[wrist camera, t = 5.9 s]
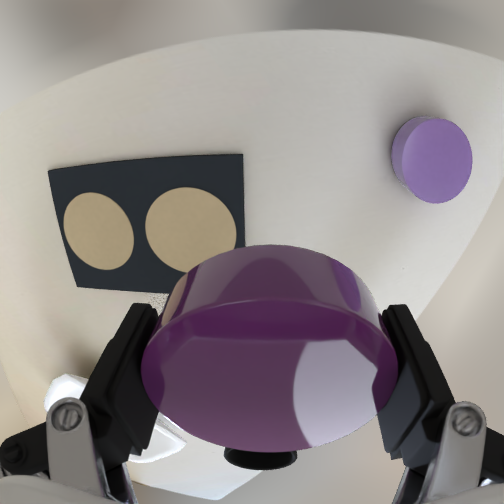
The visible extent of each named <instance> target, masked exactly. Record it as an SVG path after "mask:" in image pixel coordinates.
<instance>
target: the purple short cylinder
mask: <svg viewBox="0 0 504 504" xmlns="http://www.w3.org/2000/svg"><path fill="white" fill-rule="evenodd" d="M140 372H141V379H142V383H143V386H144V389H145V392H146V394H147V395H148V397H149V399H150V401H151V402H152V403H153V405H154V406H155V407H156V408H157V410H158V411H159V412H160V413H161V414H162V415H163V416H164V417H166V418H167V419H168V420H169V421H171V422H172V423H173V424H174V425H176V426H178V427H179V428H181V429H182V430H184V431H186V432H188V433H189V434H191V435H193V436H195V437H198V438H200V439H202V440H205V441H207V442H210V443H213V444H216V445H220V446H224V447H228V448H232V449H238V450H244V451H253V452H287V451H296V450H302V449H308V448H312V447H316V446H320V445H323V444H327V443H330V442H332V441H335V440H337V439H340V438H342V437H344V436H346V435H348V434H350V433H352V432H354V431H356V430H357V429H359V428H360V427H362V426H364V425H365V424H366V423H368V422H369V421H370V420H371V419H373V418H374V417H375V416H376V415H377V414H378V413H379V412H380V411H381V410H382V409H383V408H384V406H385V405H386V404H387V402H388V400H389V398H390V397H391V395H392V393H393V390H394V388H395V386H396V384H397V379H398V373H399V366H398V359H397V355H396V351H395V348H394V346H393V343H392V341H391V338H390V336H389V333H388V331H387V328H386V326H385V323H384V321H383V318H382V316H381V314H380V311H379V309H378V307H377V304H376V302H375V300H374V298H373V296H372V294H371V292H370V290H369V288H368V287H367V286H366V285H365V283H364V282H363V281H362V280H361V278H359V277H358V276H357V275H356V274H355V273H354V272H353V271H352V270H351V269H349V268H348V267H346V266H345V265H343V264H342V263H340V262H339V261H337V260H335V259H333V258H330V257H328V256H326V255H324V254H321V253H318V252H315V251H312V250H309V249H305V248H300V247H294V246H288V245H272V244H271V245H254V246H248V247H242V248H237V249H233V250H230V251H227V252H224V253H220V254H218V255H216V256H214V257H211V258H209V259H207V260H205V261H203V262H202V263H200V264H198V265H197V266H195V267H194V268H192V269H191V270H190V271H189V272H188V273H186V274H185V275H184V276H183V277H182V278H181V279H180V280H179V281H178V282H177V284H176V285H175V286H174V287H173V289H172V291H171V292H170V294H169V296H168V298H167V300H166V302H165V304H164V306H163V308H162V311H161V313H160V315H159V317H158V319H157V322H156V324H155V326H154V328H153V331H152V333H151V335H150V338H149V340H148V342H147V344H146V347H145V349H144V352H143V355H142V359H141V368H140Z"/></svg>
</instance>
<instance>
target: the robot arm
mask: <svg viewBox="0 0 504 504" xmlns="http://www.w3.org/2000/svg"><path fill="white" fill-rule="evenodd" d="M382 318H383V321H384V323H385V326H386V328H387V331H388V333H389V336H390V338H391V341H392V343H393V346H394V348H395V351H396V355H397V359H398V366H399V373H398V379H397V384H396V386H395V388H394V390H393V393H392V395H391V397H390V398H389V400H388V402H387V404H386V405H385V406H384V408H383V409H382V410H381V411H380V412H379V413H378V414H377V416H378V420H379V425H380V429H381V434H382V439H383V443H384V448H385V451H386V452H387V453H390V455H391V460H393V459H398V458H403V463H404V465H405V466H406V468H405V470H404V473H403V476H402V479H401V482H400V484H399V487H398V489H397V492H396V495H395V497H394V500H393V502H392V504H504V435H502V434H499V433H498V432H496V431H494V430H492V429H490V428H488V427H486V425H487V424H486V417H485V414H484V412H483V411H482V410H481V408H480V407H478V406H477V405H476V404H473V403H471V402H467V401H462V402H457V403H456V402H455V400H454V397H453V395H452V393H451V390H450V388H449V386H448V383H447V381H446V379H445V377H444V375H443V373H442V370H441V368H440V366H439V364H438V361H437V360H436V357H435V355H434V353H433V351H432V349H431V347H430V345H429V344H428V342H426V341H425V340H424V338H423V336H422V334H421V332H420V330H419V328H418V326H417V324H416V322H415V320H414V318H413V316H412V314H411V312H410V310H409V308H408V307H407V305H405V304H400V305H389V307H388V309H387V310H384V311H383V313H382ZM157 319H158V314H157V310H156V309H155V308H152V306H151V305H150V304H144V303H133V304H132V306H131V307H130V309H129V311H128V312H127V314H126V316H125V318H124V320H123V321H122V323H121V325H120V327H119V328H118V330H117V332H116V334H115V336H114V338H113V339H111V340H110V341H109V342H108V344H107V346H106V348H105V350H104V351H103V353H102V355H101V357H100V359H99V361H98V363H97V365H96V366H95V368H94V370H93V372H92V374H91V376H90V378H89V380H88V382H87V384H86V386H85V388H84V390H83V392H82V394H81V396H80V398H79V399H78V398H74V397H65V398H62V399H59V400H58V401H56V402H55V403H53V405H52V406H51V407H50V408H49V410H48V412H47V417H46V422H44V423H42V424H39V425H37V426H35V427H32V428H30V429H28V430H25V431H23V432H20V433H18V434H16V435H13V436H11V437H9V438H7V439H6V440H5V441H4V442H3V443H2V445H1V447H0V504H138V502H137V499H136V496H135V493H134V489H133V486H132V483H131V479H130V476H129V473H128V469H127V465H126V461H128V458H129V455H130V454H132V455H137V456H141V454H142V451H143V449H144V450H146V449H147V448H148V446H149V443H150V439H151V436H152V432H153V429H154V425H155V422H156V419H157V415H158V412H159V411H158V410H157V408H156V407H155V406H154V405H153V403H152V402H151V401H150V399H149V397H148V395H147V394H146V392H145V389H144V386H143V383H142V379H141V372H140V368H141V359H142V355H143V352H144V349H145V347H146V344H147V342H148V340H149V338H150V335H151V333H152V331H153V328H154V326H155V324H156V322H157Z"/></svg>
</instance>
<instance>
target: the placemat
mask: <svg viewBox="0 0 504 504" xmlns="http://www.w3.org/2000/svg"><path fill="white" fill-rule="evenodd" d="M48 176H49V181H50V187H51V192H52V197H53V201H54V206H55V210H56V215H57V219H58V223H59V227H60V231H61V235H62V239H63V242H64V246H65V249H66V253H67V256H68V260H69V263H70V266H71V269H72V273H73V276H74V279H75V282H76V285H77V287H83V288H95V289H107V290H120V291H135V292H150V293H167V294H170V292H171V291H172V289H173V287H174V286H175V285H176V284H177V282H178V281H179V280H180V279H181V278H182V277H183V276H184V275H185V274H186V273H188V272H189V271H190V270H191V269H192V268H194V267H195V266H197V265H198V264H200V263H202V262H203V261H205V260H207V259H209V258H211V257H214V256H216V255H218V254H220V253H224V252H227V251H230V250H233V249H237V248H242V247H245V229H244V183H243V154H221V155H192V156H173V157H158V158H145V159H133V160H123V161H113V162H104V163H96V164H88V165H81V166H74V167H67V168H60V169H54V170H49V171H48Z"/></svg>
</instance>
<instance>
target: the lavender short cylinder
mask: <svg viewBox="0 0 504 504" xmlns="http://www.w3.org/2000/svg"><path fill="white" fill-rule="evenodd" d="M391 158H392V166H393V169H394V172H395V174H396V177H397V178H398V180H399V181H400V183H401V184H402V185H403V186H404V187H405V188H406V189H408V190H409V191H410V192H412V193H413V194H414V195H415V196H417V197H418V198H419V199H421V200H423V201H425V202H428V203H443V202H447V201H449V200H451V199H453V198H454V197H456V196H457V195H458V194H459V193H460V192H461V191H462V190H463V188H464V187H465V185H466V184H467V182H468V179H469V177H470V174H471V169H472V151H471V147H470V144H469V141H468V139H467V137H466V135H465V134H464V132H463V131H462V130H461V129H460V128H459V127H458V126H457V125H456V124H454V123H453V122H451V121H448V120H445V119H441V118H437V117H432V116H419V117H415V118H413V119H411V120H409V121H408V122H406V123H405V124H404V125H403V126H402V127H401V128H400V130H399V131H398V133H397V135H396V137H395V139H394V142H393V145H392V153H391Z"/></svg>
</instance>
